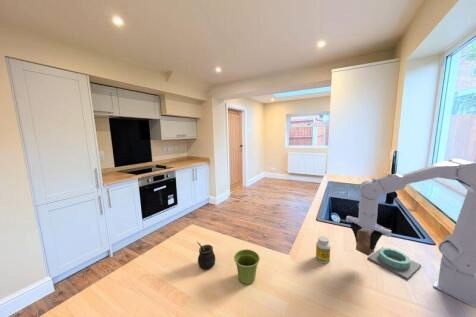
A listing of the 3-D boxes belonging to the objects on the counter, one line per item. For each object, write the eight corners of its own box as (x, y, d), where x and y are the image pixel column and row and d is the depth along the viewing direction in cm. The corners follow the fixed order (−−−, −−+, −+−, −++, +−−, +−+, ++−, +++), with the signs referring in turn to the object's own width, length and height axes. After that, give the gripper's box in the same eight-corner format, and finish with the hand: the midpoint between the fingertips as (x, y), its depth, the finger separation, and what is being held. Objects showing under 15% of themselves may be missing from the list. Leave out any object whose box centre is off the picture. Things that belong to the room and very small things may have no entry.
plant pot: (252, 266, 74) (252, 246, 72) (264, 284, 65) (264, 262, 64) (231, 273, 70) (230, 252, 69) (240, 292, 62) (239, 269, 60)
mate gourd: (212, 274, 70) (211, 250, 69) (194, 271, 72) (192, 248, 70) (218, 261, 77) (216, 239, 76) (201, 259, 79) (200, 238, 77)
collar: (421, 266, 71) (422, 258, 71) (407, 280, 65) (408, 271, 65) (382, 248, 83) (383, 242, 82) (367, 258, 76) (368, 251, 76)
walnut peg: (374, 252, 70) (375, 232, 69) (368, 255, 68) (369, 236, 67) (361, 246, 74) (363, 227, 73) (355, 249, 72) (357, 230, 71)
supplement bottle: (324, 254, 80) (325, 234, 78) (332, 263, 74) (333, 241, 73) (313, 256, 79) (314, 235, 78) (320, 264, 74) (321, 243, 72)
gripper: (395, 216, 65) (392, 251, 67) (352, 204, 77) (350, 233, 79) (388, 221, 61) (384, 258, 63) (344, 207, 73) (342, 239, 75)
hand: (365, 245), depth 71 cm, fingers closed on walnut peg, 4 cm apart
